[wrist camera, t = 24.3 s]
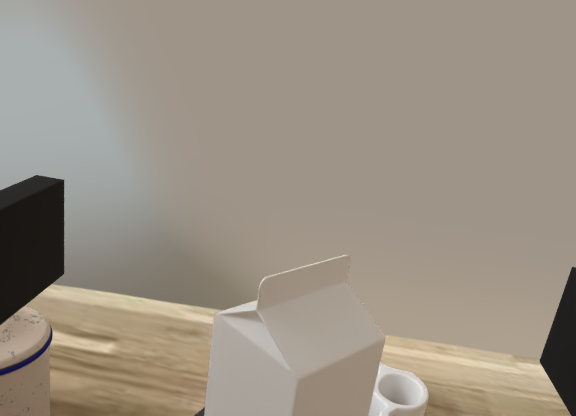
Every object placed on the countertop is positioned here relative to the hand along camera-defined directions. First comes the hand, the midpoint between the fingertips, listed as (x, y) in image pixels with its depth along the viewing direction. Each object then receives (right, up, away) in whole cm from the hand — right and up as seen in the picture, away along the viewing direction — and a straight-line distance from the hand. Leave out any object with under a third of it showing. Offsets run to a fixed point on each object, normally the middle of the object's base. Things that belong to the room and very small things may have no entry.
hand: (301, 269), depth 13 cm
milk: (-2, -22, +17) cm, 28 cm away
